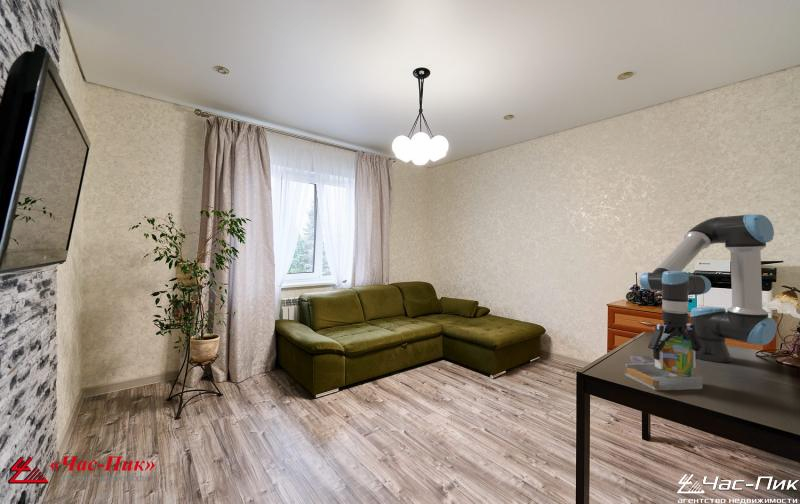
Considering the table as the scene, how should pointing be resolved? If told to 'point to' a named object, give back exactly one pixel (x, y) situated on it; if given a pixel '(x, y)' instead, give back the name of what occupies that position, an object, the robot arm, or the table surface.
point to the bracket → (661, 378)
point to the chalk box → (677, 355)
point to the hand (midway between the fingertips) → (674, 367)
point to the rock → (641, 359)
